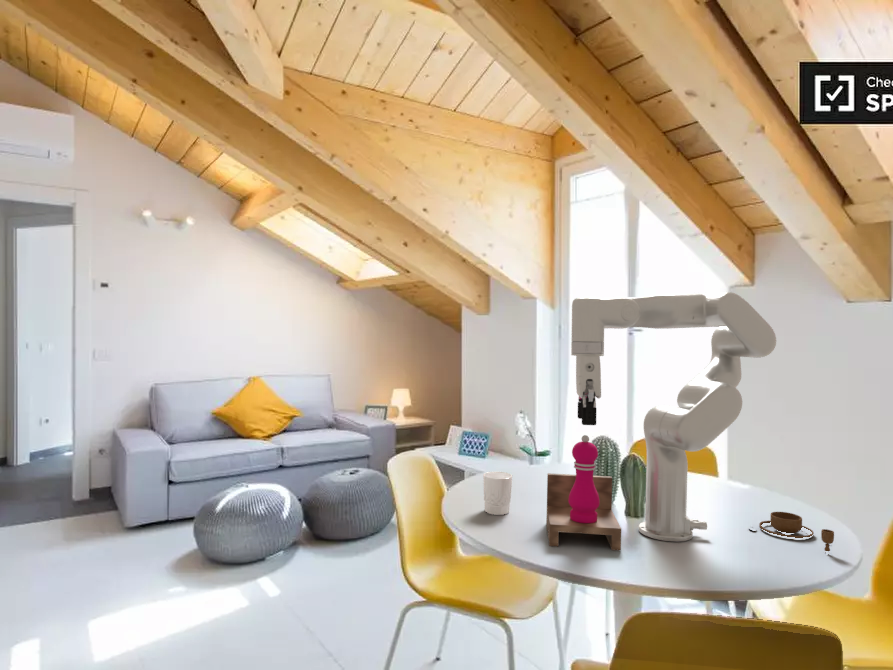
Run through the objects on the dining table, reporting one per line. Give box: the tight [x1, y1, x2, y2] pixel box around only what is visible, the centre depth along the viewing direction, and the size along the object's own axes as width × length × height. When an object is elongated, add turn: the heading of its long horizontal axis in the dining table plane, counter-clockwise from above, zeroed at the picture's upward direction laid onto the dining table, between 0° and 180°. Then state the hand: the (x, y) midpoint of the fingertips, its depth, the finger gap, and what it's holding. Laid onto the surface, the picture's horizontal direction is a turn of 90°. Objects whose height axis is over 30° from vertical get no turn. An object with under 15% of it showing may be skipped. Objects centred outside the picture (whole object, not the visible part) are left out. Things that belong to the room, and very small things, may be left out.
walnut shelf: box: [545, 472, 622, 551], centre depth 144 cm, size 16×16×13 cm
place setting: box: [759, 511, 835, 552], centre depth 146 cm, size 18×20×6 cm
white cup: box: [482, 471, 513, 516], centre depth 162 cm, size 8×8×10 cm
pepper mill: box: [568, 434, 600, 523], centre depth 141 cm, size 7×7×20 cm
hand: (586, 421), depth 140 cm, fingers open, 9 cm apart
